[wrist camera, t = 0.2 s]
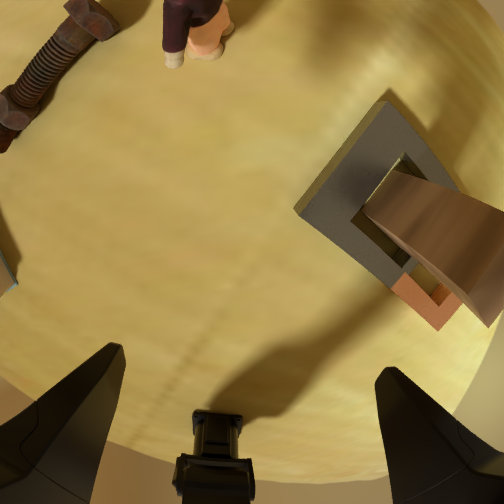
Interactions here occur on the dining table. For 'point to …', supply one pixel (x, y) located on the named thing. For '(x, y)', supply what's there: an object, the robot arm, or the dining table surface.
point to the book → (6, 276)
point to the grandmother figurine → (194, 30)
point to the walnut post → (446, 237)
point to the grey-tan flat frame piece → (359, 190)
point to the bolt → (51, 64)
